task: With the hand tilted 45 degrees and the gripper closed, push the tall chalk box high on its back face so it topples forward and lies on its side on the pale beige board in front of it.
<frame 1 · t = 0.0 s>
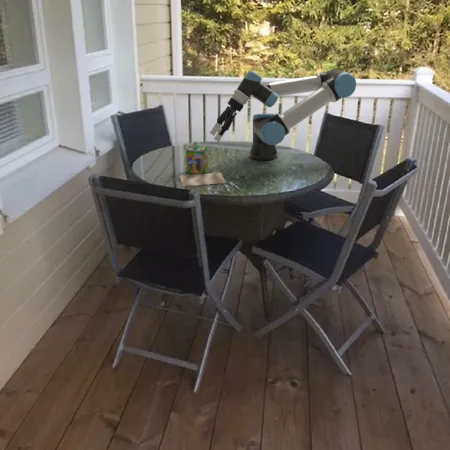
hand: (213, 137, 254), 15 cm above the table, tool tilted 35°, fingers open, 13 cm apart
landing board: (202, 180, 240), on the table
chalk box: (198, 172, 253), on the table
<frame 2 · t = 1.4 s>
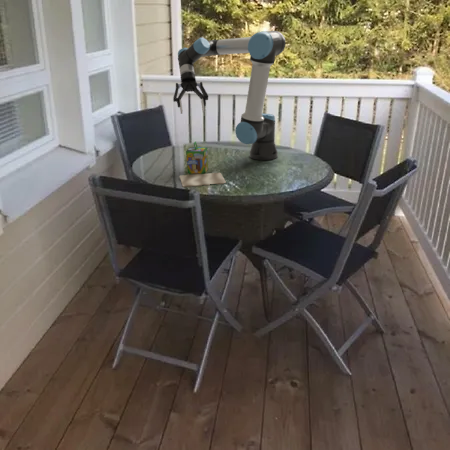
hand: (192, 111, 255), 27 cm above the table, tool tilted 45°, fingers open, 10 cm apart
nothing on the table moved.
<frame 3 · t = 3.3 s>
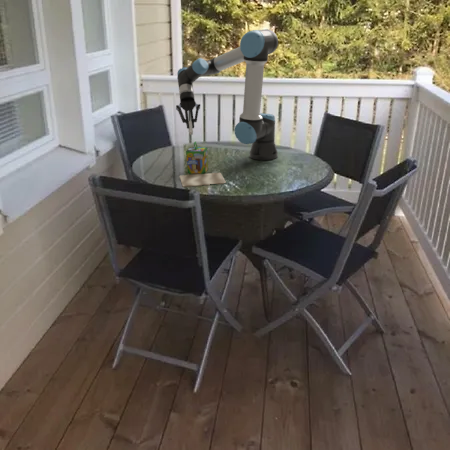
hand: (191, 133, 260), 16 cm above the table, tool tilted 45°, fingers closed
nothing on the table moved.
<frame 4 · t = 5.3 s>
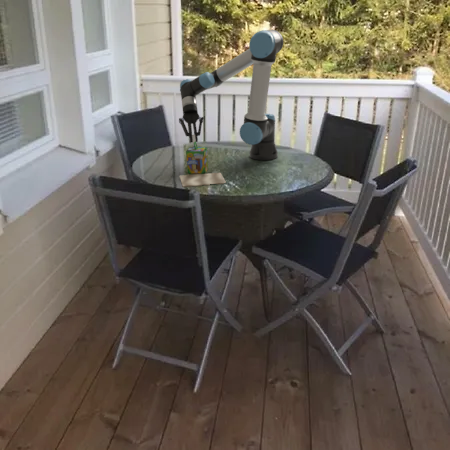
hand: (194, 147, 254), 11 cm above the table, tool tilted 45°, fingers closed
chalk box: (198, 171, 253), on the table, touching gripper
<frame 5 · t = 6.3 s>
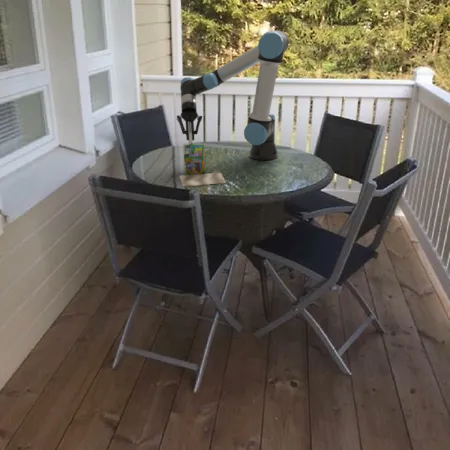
hand: (190, 145, 247), 13 cm above the table, tool tilted 45°, fingers closed
chalk box: (196, 168, 252), point 2 cm above the table, touching gripper
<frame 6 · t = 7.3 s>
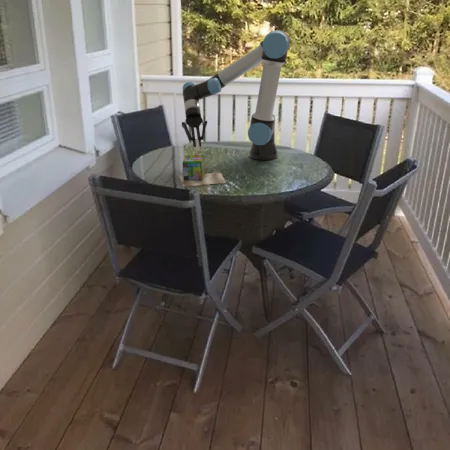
hand: (198, 152, 245), 11 cm above the table, tool tilted 45°, fingers closed
chalk box: (195, 163, 247), point 5 cm above the table, touching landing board
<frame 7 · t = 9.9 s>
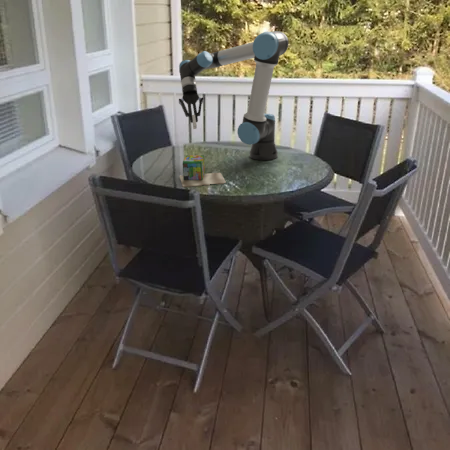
hand: (195, 127, 254), 20 cm above the table, tool tilted 45°, fingers closed
nothing on the table moved.
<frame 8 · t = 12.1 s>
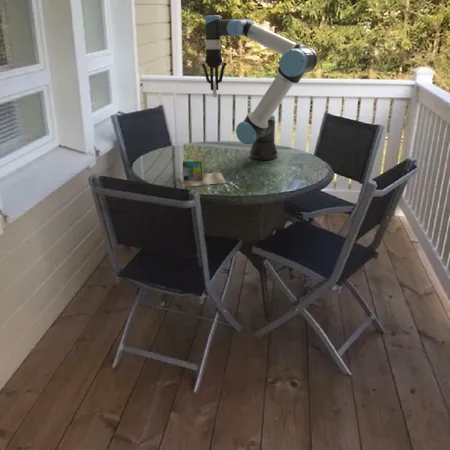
hand: (214, 96, 264), 32 cm above the table, tool pointing down, fingers closed
nothing on the table moved.
at the end: chalk box tilted 91°; chalk box touching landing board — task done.
